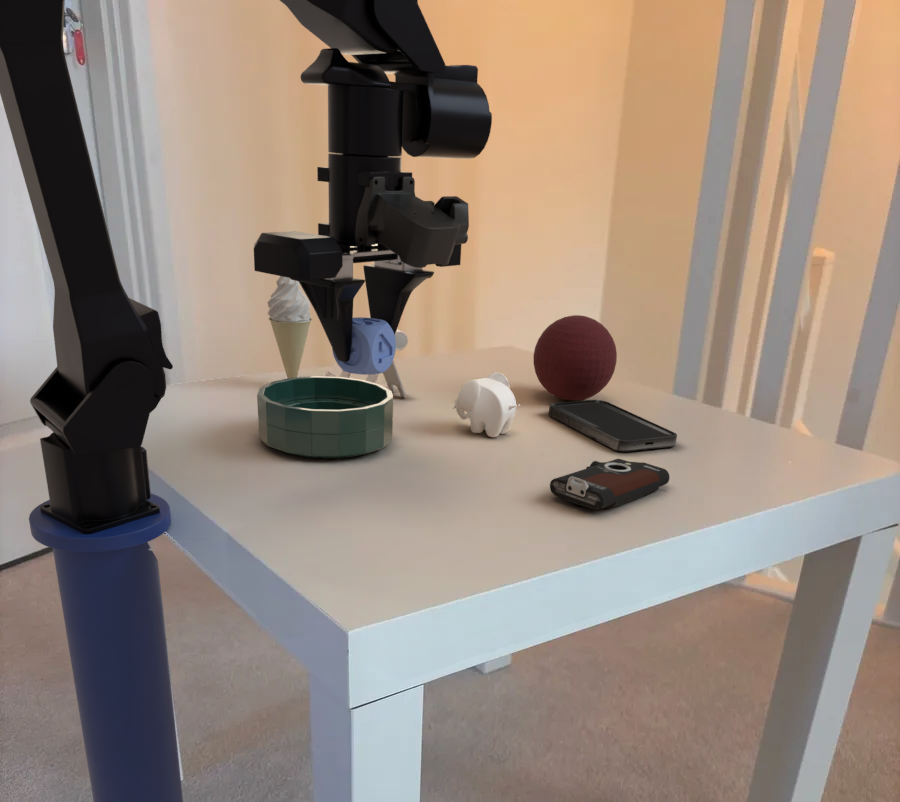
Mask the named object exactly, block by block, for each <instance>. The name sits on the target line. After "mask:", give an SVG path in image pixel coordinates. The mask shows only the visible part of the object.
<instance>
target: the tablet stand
mask: <svg viewBox="0 0 900 802" xmlns="http://www.w3.org/2000/svg"><path fill="white" fill-rule="evenodd" d="M366 318H370V316H367V317H366ZM395 340H396V350H395V351H397V352H400V351H403V350H405V349H406V347H407V346H408V343H409V338H408V335H407V334H406V332H404V331H402V330H400V329H398V328H397V330H396V333H395ZM351 375H352V373H348V372H345V371H343V370H342V369H341V373H340V375H339V376H338V377H344V378H351ZM379 375H380V374H371V375H367V376H366V379H365V381H369V382H372V383H376V382H377V380H378V377H379ZM382 375H383V377H384V380H385V383H386V385H387V389H389V390H391V391H392V393H395V392H396V389H395V387H396V388H397V391H398V393H399V395H400V397H401V398H403V399H406V398H407V397H408V396H407V393H406V391H405V389H404V385H403V383H402V380H401V377H400V373H399V372H398V369H397V367H396V363H395V361H394V359H393V361H392V364H391V365H390V367H389V368H388V369H387V370H386V371H385V372H383V373H382ZM325 376H327V377H337V376H336V375H335V374H333V373H332V372H330V371H325Z"/></svg>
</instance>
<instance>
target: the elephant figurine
mask: <svg viewBox="0 0 900 802" xmlns="http://www.w3.org/2000/svg"><path fill="white" fill-rule="evenodd" d="M517 407H521V404H520V403H518V404H517V400H516V397H515V394H514V392H513V391H512V390H511V385H510V382H509V380H508V378H507V377H506V375H504V374H503V373H501V372H498V371H494V372H492V373H490V374H488V376H487V377H486V378H485V377H484V378H483V377H482V378H481V377H480V378H477V379H473V378H472V379H468V381H466V382H465V383H464V385H462V386H461V388H460V389H459V392H458V395H457V398H456V399H455V402H454V405H453V407H451V409H452V410H454V409H455V410H456V413H457V415H458V416H459V417H460V419H462V420H467V419H469V422H470V430H471V432H472V433H473V434H481V433H482V432H483V431H485V434H486V435H487V436H488V437H490V438H497V437H499V435H500V434H501V435H504V434H507V433H508V432H509V430H510V429H511V426H512V425H513V421H514V419H515V415H516V412H517Z"/></svg>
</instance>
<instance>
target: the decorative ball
mask: <svg viewBox="0 0 900 802" xmlns="http://www.w3.org/2000/svg"><path fill="white" fill-rule="evenodd" d="M617 359H618V354H617V346H616V343H615V340H614V338H613V336H612V334H611V333H610V332H609V330H608V328H606V327H605V326H604V325H603V324H602V323H601V322H599V321H598V320H596V319H595V318H592V317H589V316H586V315H580V314H579V315H578V314H576V315H573V314H572V315H568V316H564V317H561V318H559V319H557V320H555V321H553V322H552V323H550V324H549V325H548V326H546V328H545V329H544V330H543V332H542V333H541V335H540V336H539V338H538V339H537V342H536V344H535V347H534V352H533V368H534V372H535V375H536V377H537V380H538V382H539V383H540V384H541V386H542V387H543V389H545V390H546V391H547V392H548V393H549V394H551V395H553V396H554V397H556V398H558V399H560V400H564V401H567V402H575V401H585V400H587V399H590V398H592V397H594V396H595V395H597V394H599V393H600V392H601V391H602V390H604V388H605V387H606V386H607V385H608V384H609V382H610V381H611V379H612V378H613V375H614V374H615V370H616V366H617Z"/></svg>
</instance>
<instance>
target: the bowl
mask: <svg viewBox="0 0 900 802" xmlns="http://www.w3.org/2000/svg"><path fill="white" fill-rule="evenodd" d="M256 400H257V422H258V423H257V424H258V438H259V440H260V441H262V442H263V443H264V444H265V445H266V446H267V447H269V448H273V449H275V450H278V451H281V452H284V453H287V454H290V455H294V456H298V457H302V458H310V459H344V458H352V457H353V458H354V457H358V456H362V455H365V454H369V453H372V452H376V451H377V450H381V449H384V448H385V447H386V446H388V445H389V444H390V443H391V442H392V441H393V426H394V425H393V424H394V420H393V419H394V396H393V391H391V390H390V389H389V388H388V387H386V386H384V385H382V384H380V383H376V382H375V383H372V382H369V381H366V379H365V380H364V379H359V378H352V377H349V378H344V377H339V376H336V377H327V376H326V375H324V376H323V375H313V376H312V375H311V376H299V377H298V376H297V378H283V379H279V380H274V381H270V382H268V383H266V384H264V385H263V386H260V387H259V388H258V391H257V395H256Z"/></svg>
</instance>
